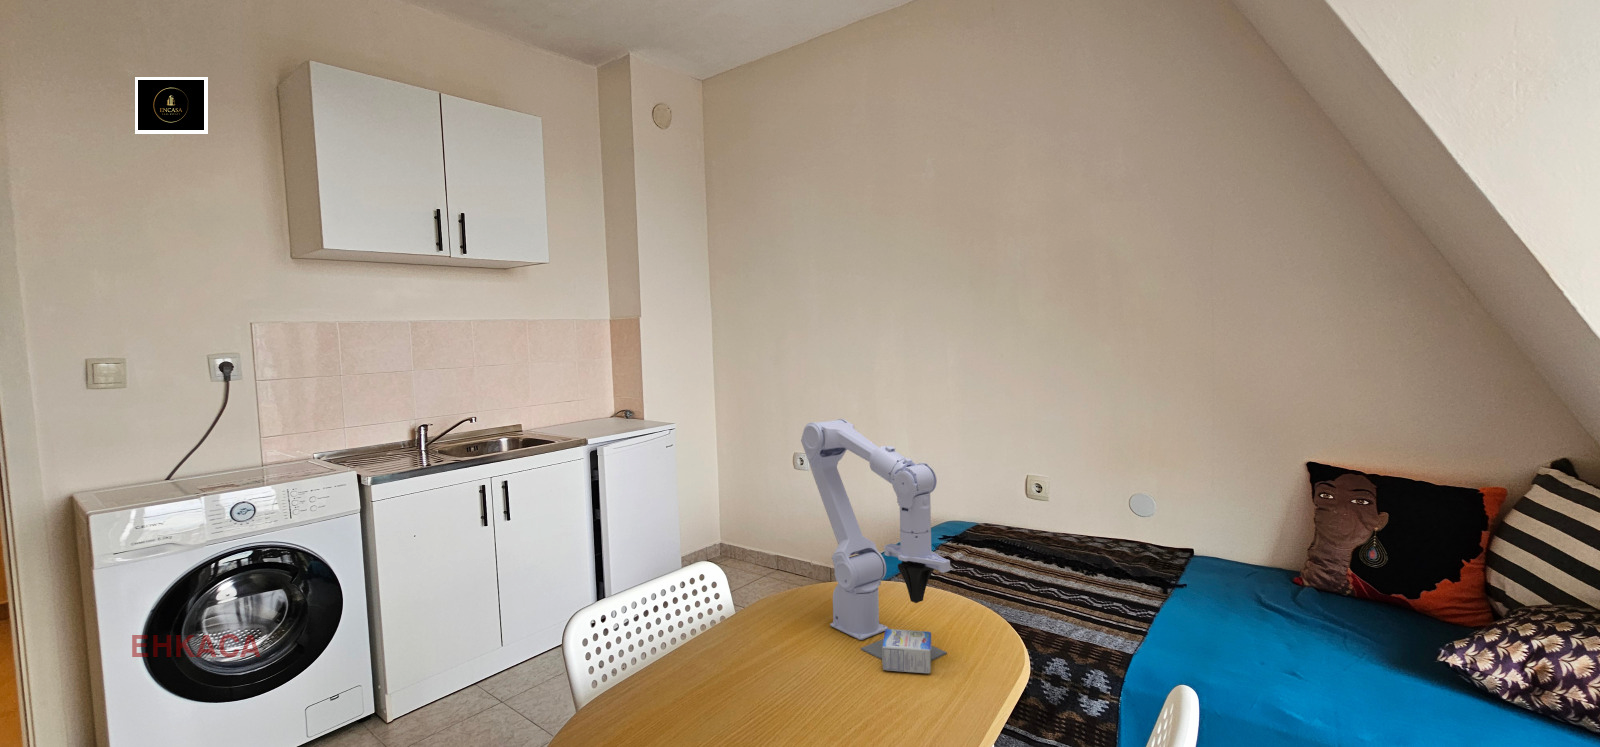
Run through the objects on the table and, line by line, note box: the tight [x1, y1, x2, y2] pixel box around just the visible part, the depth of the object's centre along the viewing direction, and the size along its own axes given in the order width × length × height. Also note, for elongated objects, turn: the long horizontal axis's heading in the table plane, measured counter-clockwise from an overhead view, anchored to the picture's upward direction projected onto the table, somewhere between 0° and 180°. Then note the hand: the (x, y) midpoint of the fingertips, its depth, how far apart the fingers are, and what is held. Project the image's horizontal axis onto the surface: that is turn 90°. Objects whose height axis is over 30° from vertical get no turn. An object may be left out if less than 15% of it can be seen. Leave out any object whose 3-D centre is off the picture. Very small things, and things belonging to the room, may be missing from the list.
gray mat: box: [860, 638, 948, 662], centre depth 129 cm, size 12×11×1 cm
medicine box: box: [881, 628, 932, 674], centre depth 124 cm, size 8×4×9 cm
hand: (916, 600), depth 127 cm, fingers closed
